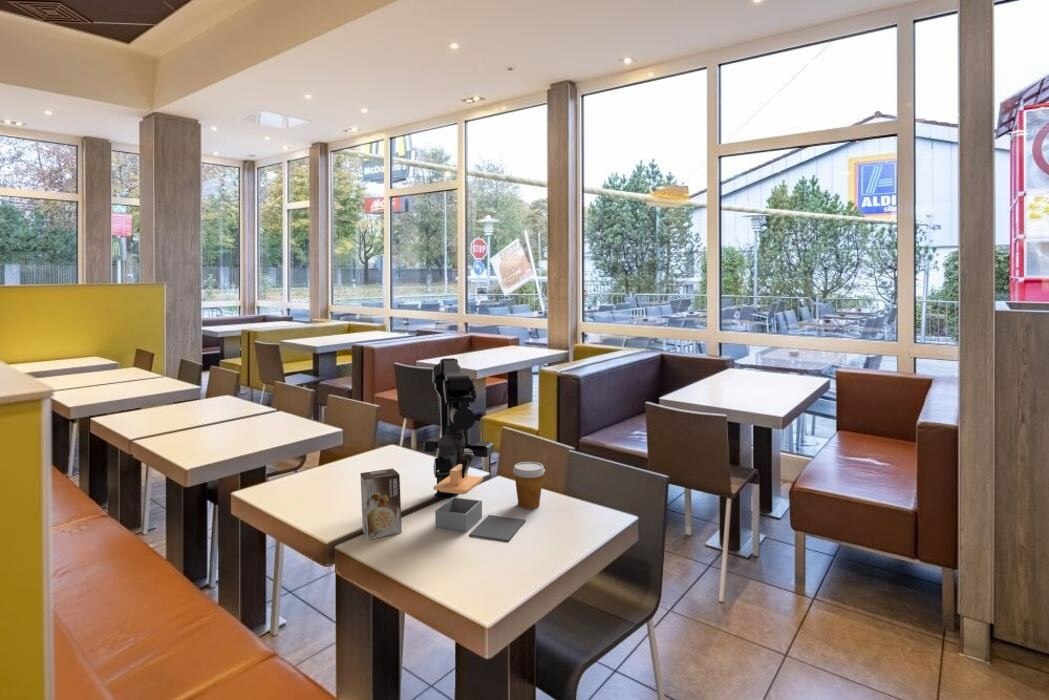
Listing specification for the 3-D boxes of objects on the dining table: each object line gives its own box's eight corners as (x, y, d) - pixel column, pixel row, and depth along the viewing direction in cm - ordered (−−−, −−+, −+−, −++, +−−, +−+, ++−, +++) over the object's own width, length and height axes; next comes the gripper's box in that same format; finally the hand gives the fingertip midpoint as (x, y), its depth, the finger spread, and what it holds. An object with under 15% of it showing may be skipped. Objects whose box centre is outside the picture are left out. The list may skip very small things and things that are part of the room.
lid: (433, 492, 158) (433, 472, 158) (452, 479, 169) (451, 460, 169) (466, 496, 155) (466, 475, 155) (483, 482, 166) (483, 463, 166)
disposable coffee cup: (545, 500, 181) (546, 461, 180) (543, 511, 172) (543, 471, 171) (514, 498, 182) (514, 460, 181) (511, 510, 173) (511, 470, 172)
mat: (469, 536, 155) (469, 534, 155) (488, 516, 168) (488, 514, 168) (508, 541, 152) (508, 539, 152) (525, 521, 165) (525, 519, 165)
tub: (435, 528, 160) (435, 510, 159) (452, 513, 170) (452, 496, 170) (466, 533, 157) (466, 514, 156) (482, 517, 167) (481, 500, 167)
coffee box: (395, 524, 162) (394, 467, 161) (402, 533, 157) (401, 474, 155) (361, 530, 158) (360, 472, 156) (367, 540, 153) (365, 479, 151)
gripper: (413, 425, 156) (414, 483, 157) (478, 431, 150) (479, 490, 152) (432, 416, 166) (433, 470, 168) (494, 421, 160) (494, 477, 162)
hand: (458, 477), depth 162 cm, fingers closed on lid, 2 cm apart
